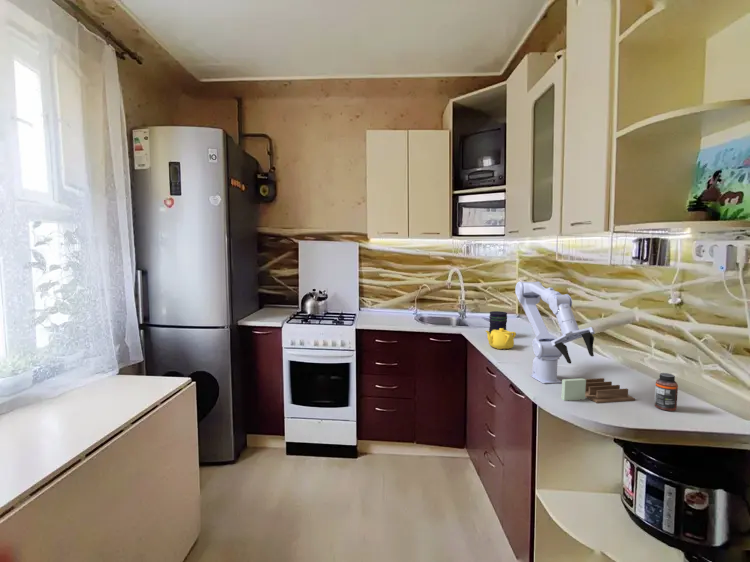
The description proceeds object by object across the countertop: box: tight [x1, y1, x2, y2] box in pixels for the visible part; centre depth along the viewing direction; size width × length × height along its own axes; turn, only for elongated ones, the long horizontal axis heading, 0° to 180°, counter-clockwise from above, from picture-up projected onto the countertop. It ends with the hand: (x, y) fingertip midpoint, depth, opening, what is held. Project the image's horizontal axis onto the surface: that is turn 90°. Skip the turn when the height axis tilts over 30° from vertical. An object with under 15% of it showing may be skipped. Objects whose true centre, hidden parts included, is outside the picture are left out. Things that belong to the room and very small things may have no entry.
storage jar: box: [488, 310, 508, 334], centre depth 236 cm, size 10×10×15 cm
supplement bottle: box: [654, 372, 679, 412], centre depth 133 cm, size 6×6×11 cm
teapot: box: [485, 328, 517, 350], centre depth 213 cm, size 14×13×10 cm
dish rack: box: [584, 377, 636, 404], centre depth 146 cm, size 15×15×4 cm
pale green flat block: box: [560, 378, 586, 402], centre depth 141 cm, size 2×8×7 cm, turn 100°
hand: (580, 359), depth 139 cm, fingers open, 7 cm apart
